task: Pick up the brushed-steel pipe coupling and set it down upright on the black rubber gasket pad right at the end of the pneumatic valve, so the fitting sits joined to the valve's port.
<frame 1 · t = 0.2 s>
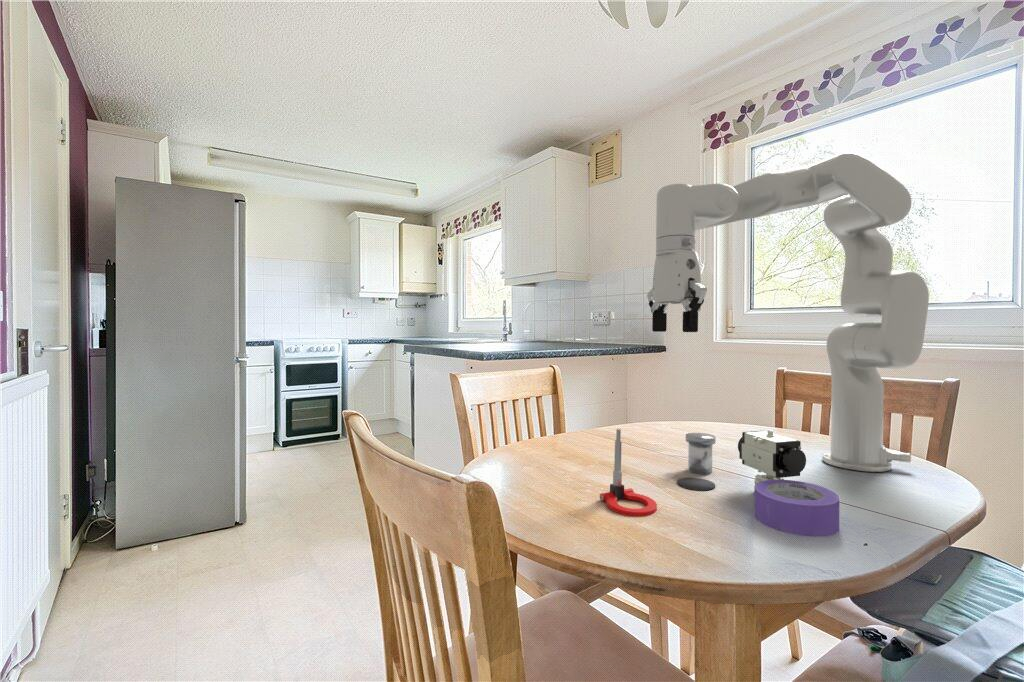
hand: (674, 331, 98), 30 cm above the table, tool pointing down, fingers open, 9 cm apart
tape roll: (794, 522, 77), on the table
tow hook: (630, 507, 84), on the table
pneumatic valve: (767, 496, 89), on the table
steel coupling: (700, 470, 104), on the table
gasket pad: (695, 484, 95), on the table
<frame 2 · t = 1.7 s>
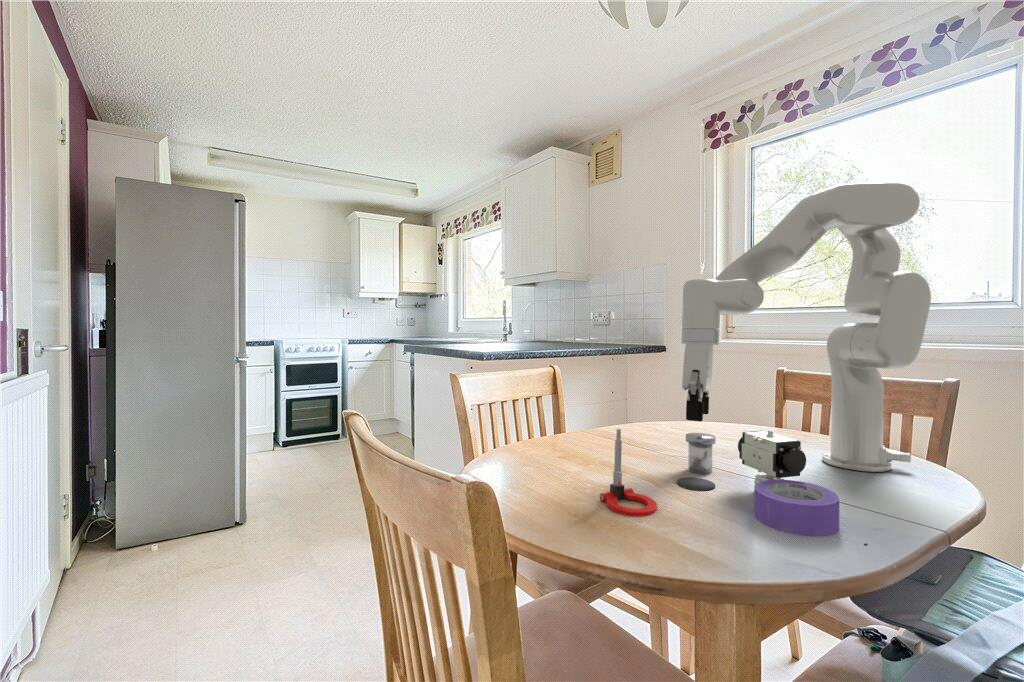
hand: (697, 416, 103), 12 cm above the table, tool pointing down, fingers open, 9 cm apart
nothing on the table moved.
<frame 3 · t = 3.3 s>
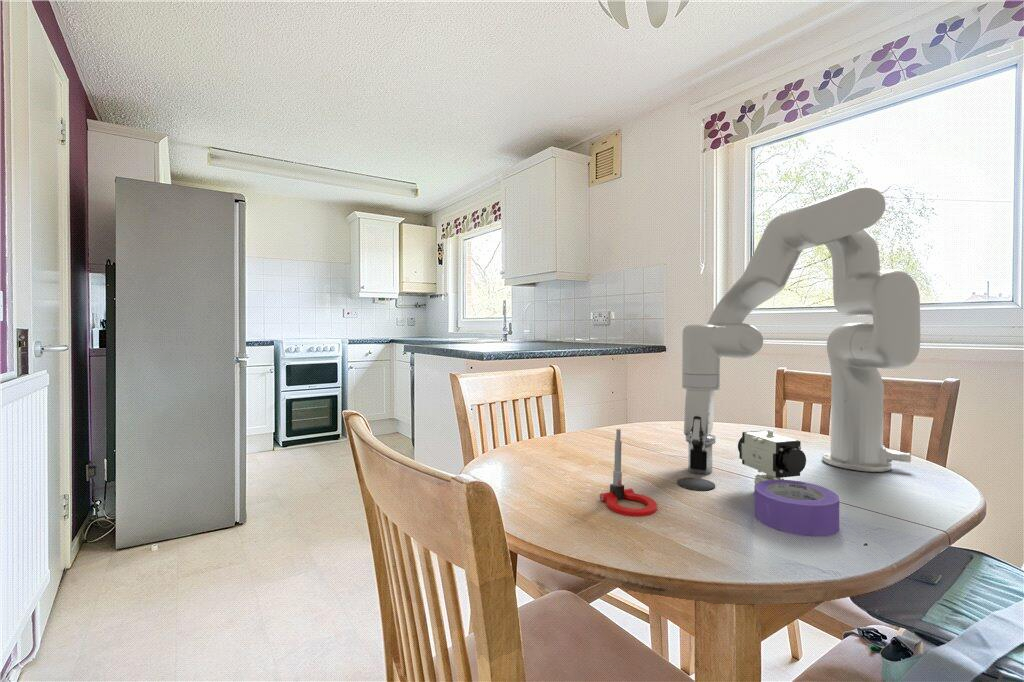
hand: (700, 465, 104), 1 cm above the table, tool pointing down, fingers closed on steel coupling, 4 cm apart
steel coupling: (700, 470, 104), on the table, touching gripper
everything else where it was.
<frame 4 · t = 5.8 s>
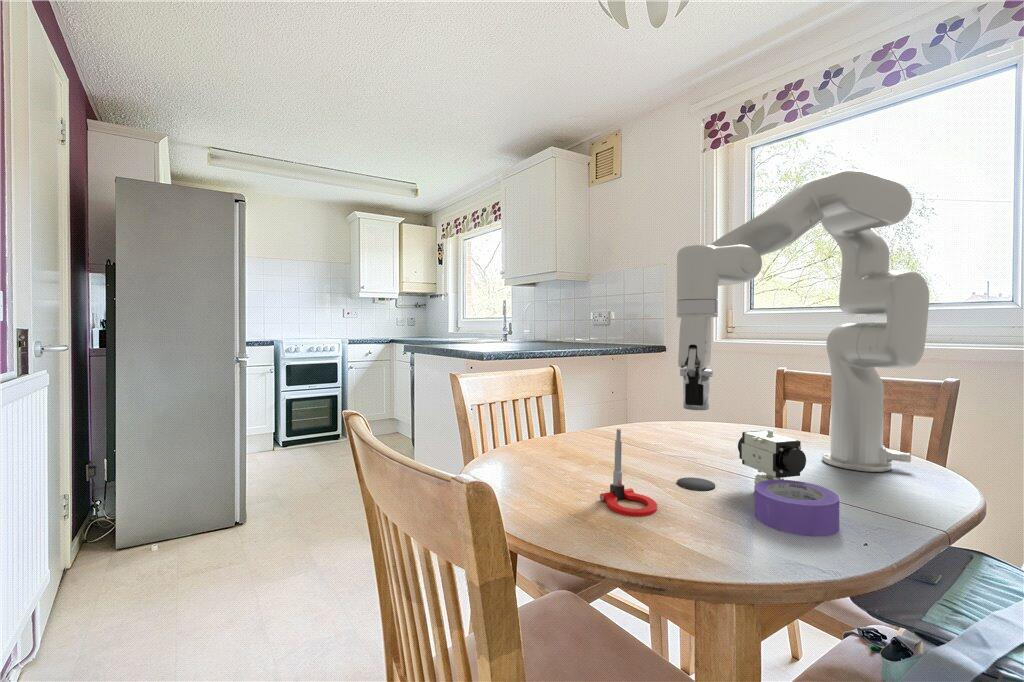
hand: (696, 401, 94), 16 cm above the table, tool pointing down, fingers closed on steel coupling, 4 cm apart
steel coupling: (696, 408, 94), point 15 cm above the table, touching gripper
everything else where it was.
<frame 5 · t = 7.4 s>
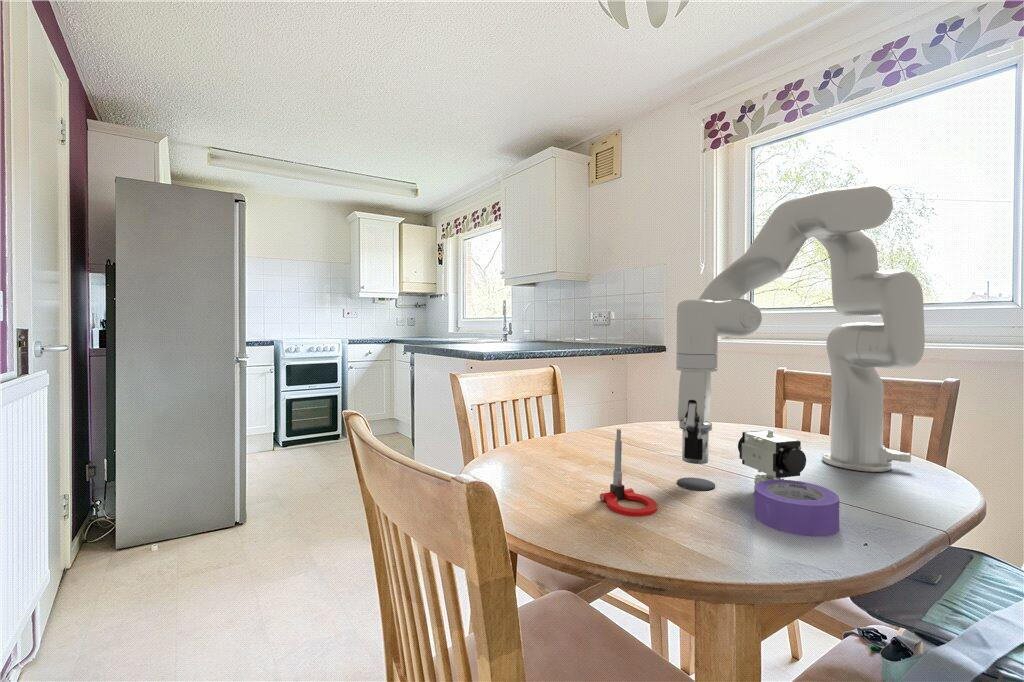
hand: (695, 454, 94), 6 cm above the table, tool pointing down, fingers closed on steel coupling, 4 cm apart
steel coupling: (695, 460, 94), point 5 cm above the table, touching gripper
everything else where it was.
when the fingers open (3 cm above the table, at t = 8.5 s): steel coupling drops 1 cm, resting on gasket pad.
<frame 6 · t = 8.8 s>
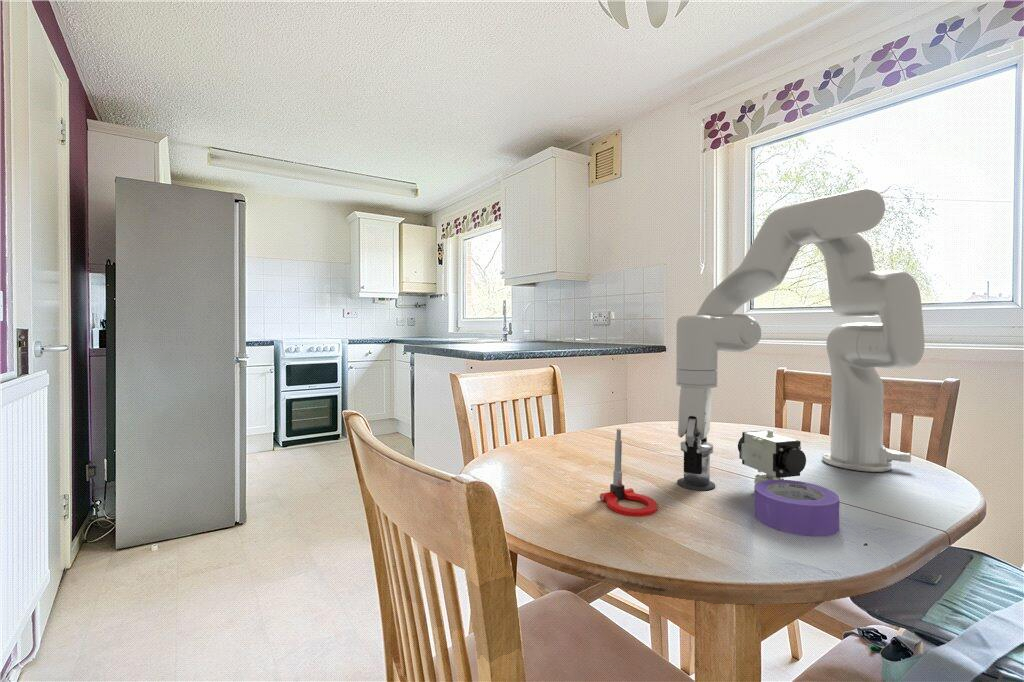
hand: (696, 466, 95), 4 cm above the table, tool pointing down, fingers open, 8 cm apart
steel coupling: (696, 482, 95), resting on gasket pad
everything else where it was.
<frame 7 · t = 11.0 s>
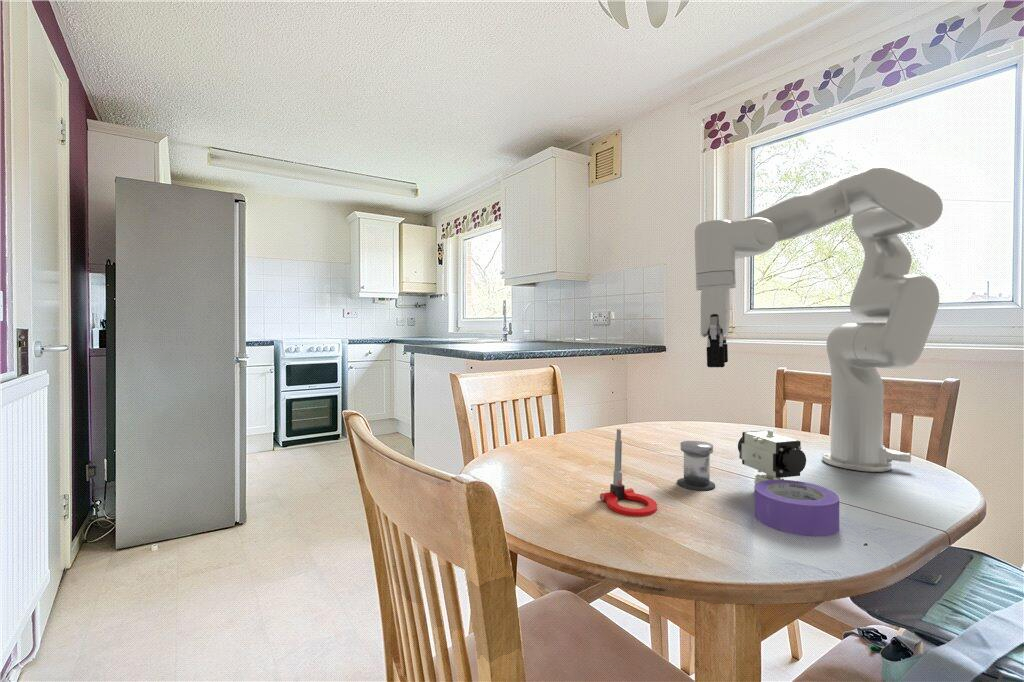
hand: (717, 364, 100), 23 cm above the table, tool pointing down, fingers open, 9 cm apart
nothing on the table moved.
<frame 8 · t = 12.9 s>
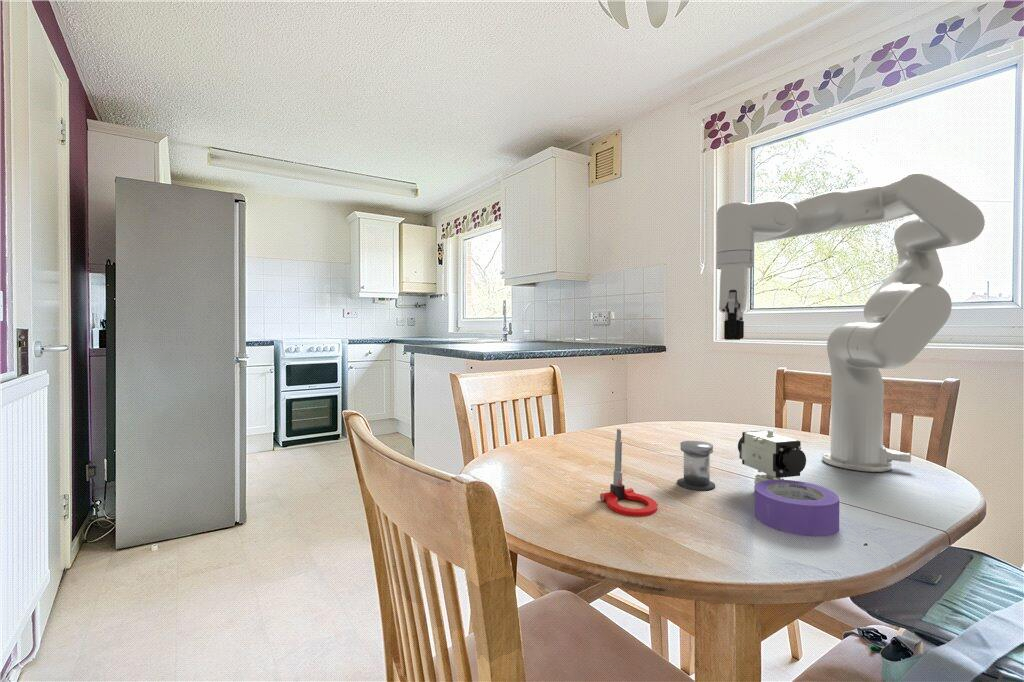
hand: (734, 339, 106), 28 cm above the table, tool pointing down, fingers open, 9 cm apart
nothing on the table moved.
at the end: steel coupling 0.4 cm from the gasket pad (horizontally); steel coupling 12.4 cm from the pneumatic valve (horizontally); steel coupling tilted 0° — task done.
